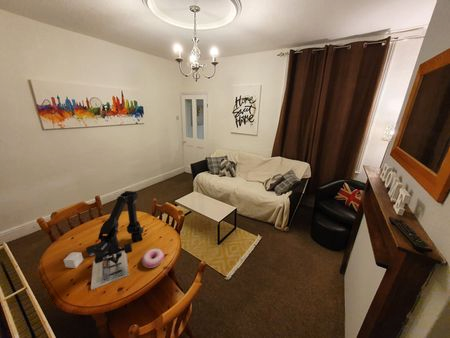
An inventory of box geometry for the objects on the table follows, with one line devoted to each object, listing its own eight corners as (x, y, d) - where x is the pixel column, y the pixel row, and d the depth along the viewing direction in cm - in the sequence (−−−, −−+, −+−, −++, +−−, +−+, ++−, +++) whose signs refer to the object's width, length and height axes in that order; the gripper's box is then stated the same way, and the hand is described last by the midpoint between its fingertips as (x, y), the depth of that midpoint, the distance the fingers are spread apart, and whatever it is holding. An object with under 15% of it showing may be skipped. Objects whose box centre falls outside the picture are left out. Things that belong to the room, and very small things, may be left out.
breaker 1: (109, 257, 114) (108, 253, 113) (109, 262, 111) (108, 257, 110) (103, 259, 113) (102, 254, 111) (103, 264, 109) (102, 259, 108)
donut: (154, 272, 108) (153, 266, 106) (137, 265, 112) (136, 259, 110) (168, 256, 120) (168, 250, 118) (152, 250, 124) (151, 244, 122)
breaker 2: (109, 271, 105) (108, 267, 103) (109, 277, 101) (108, 272, 100) (103, 274, 103) (102, 269, 102) (103, 279, 100) (101, 274, 99)
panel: (126, 252, 121) (126, 250, 121) (129, 275, 105) (128, 273, 105) (93, 262, 112) (93, 260, 112) (91, 289, 96) (90, 287, 96)
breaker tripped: (109, 264, 109) (108, 259, 108) (109, 269, 106) (108, 264, 105) (103, 266, 108) (102, 261, 107) (103, 271, 105) (102, 266, 103)
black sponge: (87, 258, 115) (86, 254, 114) (87, 250, 122) (86, 245, 121) (116, 248, 124) (115, 244, 123) (115, 241, 131) (114, 237, 129)
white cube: (65, 267, 108) (63, 259, 106) (73, 259, 114) (71, 252, 112) (75, 267, 108) (73, 260, 106) (83, 259, 114) (81, 252, 112)
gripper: (128, 229, 115) (132, 249, 121) (93, 239, 106) (98, 259, 111) (130, 240, 106) (133, 260, 112) (92, 252, 97) (97, 273, 102)
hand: (116, 263), depth 110 cm, fingers closed
